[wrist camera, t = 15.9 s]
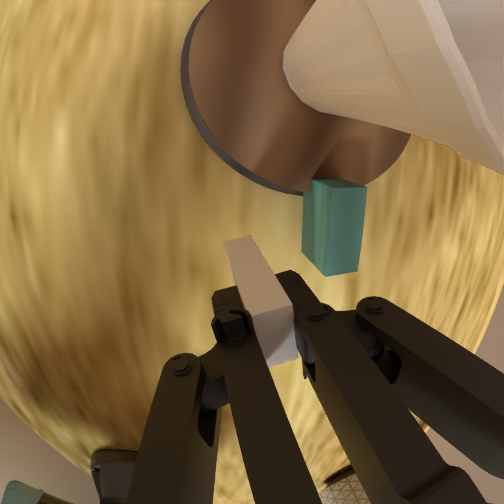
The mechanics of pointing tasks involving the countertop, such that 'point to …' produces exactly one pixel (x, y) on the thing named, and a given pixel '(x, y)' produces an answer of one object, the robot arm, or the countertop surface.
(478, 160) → the cup
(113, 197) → the countertop surface
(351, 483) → the planter
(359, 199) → the brown and teal disc
